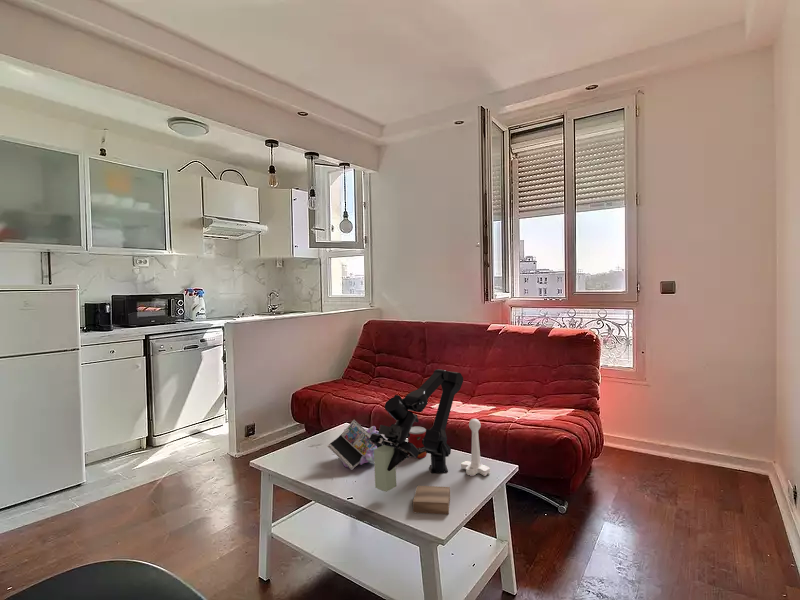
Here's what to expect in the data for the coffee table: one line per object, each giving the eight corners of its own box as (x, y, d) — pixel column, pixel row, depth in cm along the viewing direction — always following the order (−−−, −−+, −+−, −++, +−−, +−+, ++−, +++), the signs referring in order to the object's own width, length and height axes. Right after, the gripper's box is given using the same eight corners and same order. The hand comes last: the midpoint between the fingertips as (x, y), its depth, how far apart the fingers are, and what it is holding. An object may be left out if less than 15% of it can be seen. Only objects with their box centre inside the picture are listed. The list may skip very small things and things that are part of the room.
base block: (417, 495, 145) (417, 485, 145) (450, 497, 143) (449, 486, 143) (413, 512, 134) (412, 501, 134) (448, 514, 132) (448, 503, 132)
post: (385, 482, 147) (384, 444, 146) (396, 486, 143) (395, 448, 143) (375, 487, 143) (373, 449, 143) (386, 492, 140) (384, 452, 139)
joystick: (492, 472, 161) (490, 420, 160) (481, 479, 155) (479, 425, 155) (467, 465, 168) (465, 415, 168) (456, 471, 163) (454, 419, 162)
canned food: (420, 460, 175) (418, 433, 175) (404, 456, 180) (403, 430, 180) (430, 453, 181) (429, 428, 181) (415, 449, 186) (414, 425, 186)
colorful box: (380, 437, 191) (358, 406, 188) (397, 451, 170) (373, 416, 167) (343, 468, 184) (320, 436, 181) (356, 487, 164) (330, 451, 161)
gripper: (371, 410, 152) (349, 450, 144) (412, 419, 139) (390, 464, 131) (387, 426, 158) (367, 466, 150) (427, 436, 145) (408, 480, 137)
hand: (382, 468), depth 142 cm, fingers closed on post, 5 cm apart
